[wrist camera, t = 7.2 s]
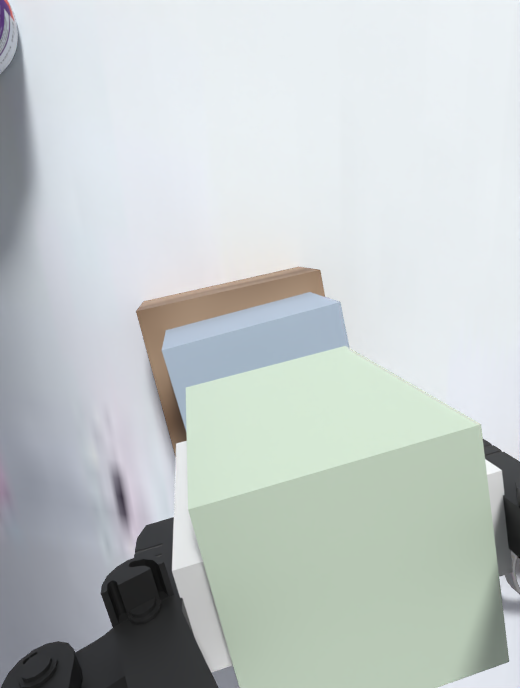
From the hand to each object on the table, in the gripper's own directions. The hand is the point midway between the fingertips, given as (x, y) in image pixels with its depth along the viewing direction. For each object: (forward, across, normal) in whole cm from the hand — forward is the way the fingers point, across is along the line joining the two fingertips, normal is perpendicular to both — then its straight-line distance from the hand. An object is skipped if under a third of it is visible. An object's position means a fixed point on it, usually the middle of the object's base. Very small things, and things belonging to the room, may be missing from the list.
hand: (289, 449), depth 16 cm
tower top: (+9, 0, 0) cm, 9 cm away
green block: (+1, 0, 0) cm, 1 cm away
